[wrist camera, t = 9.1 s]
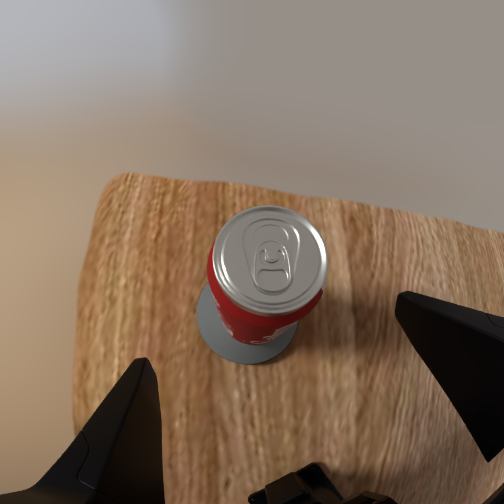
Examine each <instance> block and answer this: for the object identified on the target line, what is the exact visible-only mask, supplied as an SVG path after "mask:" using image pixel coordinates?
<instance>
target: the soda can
mask: <svg viewBox="0 0 504 504" xmlns="http://www.w3.org/2000/svg"><path fill="white" fill-rule="evenodd" d="M327 271H328V253H327V248H326V245H325V242H324V240H323V238H322V236H321V234H320V233H319V231H318V230H317V229H316V227H315V226H314V225H313V224H312V223H311V222H310V221H309V220H308V219H306V218H305V217H304V216H302V215H301V214H299V213H297V212H295V211H293V210H291V209H288V208H285V207H281V206H274V205H263V206H256V207H252V208H248V209H246V210H243V211H241V212H239V213H238V214H236V215H235V216H233V217H232V218H231V219H230V220H229V221H228V222H227V223H226V224H225V225H224V226H223V227H222V229H221V230H220V232H219V234H218V236H217V238H216V240H215V242H214V244H213V245H212V248H211V250H210V253H209V257H208V263H207V275H208V281H209V285H210V288H211V291H212V294H213V298H214V301H215V304H216V307H217V310H218V313H219V316H220V319H221V322H222V325H223V327H224V328H225V330H226V331H227V333H228V334H229V335H230V336H231V337H232V338H234V339H235V340H237V341H239V342H241V343H244V344H247V345H261V344H265V343H268V342H270V341H272V340H273V339H275V338H276V337H278V336H279V335H280V334H282V333H283V332H284V331H286V330H287V329H288V328H290V327H291V326H292V325H294V324H295V323H296V322H298V321H299V320H300V319H302V318H303V317H304V316H306V315H307V314H308V313H309V312H310V311H311V310H312V309H313V308H314V307H315V306H316V304H317V303H318V301H319V300H320V298H321V296H322V294H323V291H324V288H325V284H326V279H327Z"/></svg>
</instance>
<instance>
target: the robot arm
mask: <svg viewBox="0 0 504 504" xmlns="http://www.w3.org/2000/svg"><path fill="white" fill-rule="evenodd" d="M395 316H396V318H397V320H398V322H399V323H400V325H401V327H402V328H403V330H404V332H405V333H406V335H407V337H408V339H409V340H410V342H411V344H412V345H413V347H414V348H415V350H416V351H417V353H418V354H419V355H420V357H421V358H422V360H423V361H424V362H425V364H426V365H427V367H428V368H429V370H430V371H431V372H432V374H433V375H434V377H435V378H436V380H437V381H438V383H439V384H440V386H441V387H442V389H443V390H444V392H445V393H446V395H447V396H448V398H449V399H450V401H451V402H452V404H453V406H454V407H455V409H456V410H457V412H458V413H459V415H460V417H461V418H462V420H463V421H464V423H465V424H466V427H467V428H468V430H469V432H470V433H471V435H472V437H473V438H474V440H475V442H476V444H477V445H478V447H479V449H480V451H481V452H482V454H483V456H484V458H485V460H486V461H487V462H490V461H491V460H492V459H493V458H494V457H495V456H496V455H497V454H498V453H499V452H500V451H501V450H502V449H503V448H504V317H500V316H496V315H492V314H489V313H484V312H482V311H478V310H475V309H471V308H468V307H464V306H461V305H457V304H453V303H450V302H446V301H443V300H439V299H436V298H432V297H429V296H425V295H422V294H418V293H414V292H411V291H405V292H402V293H399V294H398V296H397V301H396V308H395ZM82 430H83V431H80V432H79V434H78V435H77V437H76V438H75V439H74V441H73V442H72V443H71V445H70V446H69V447H68V448H67V450H66V451H65V452H64V453H63V454H62V456H61V457H60V458H59V459H58V460H57V461H56V463H55V464H54V465H53V466H52V467H51V468H50V469H49V470H48V471H47V473H46V474H45V475H44V476H43V477H42V478H41V479H40V480H39V481H38V482H37V483H36V484H35V485H34V486H32V487H30V488H28V489H26V490H22V491H17V492H12V493H7V494H2V495H0V504H165V498H164V484H163V464H162V422H161V411H160V402H159V393H158V382H157V377H156V374H155V372H154V370H153V368H152V366H151V364H150V362H149V360H148V359H147V358H146V357H143V358H137V359H135V360H134V361H133V362H132V363H131V364H130V366H129V367H128V368H127V370H126V371H125V372H124V374H123V375H122V376H121V378H120V379H119V380H118V381H117V383H116V384H115V385H114V387H113V388H112V389H111V391H110V392H109V393H108V395H107V396H106V397H105V399H104V400H103V401H102V403H101V404H100V405H99V407H98V408H97V409H96V411H95V412H94V413H93V415H92V416H91V418H90V419H89V420H88V422H87V423H86V424H85V426H84V427H83V428H82ZM312 467H316V468H315V469H314V470H311V468H312ZM252 498H256V499H257V500H255V501H253V500H251V499H252ZM248 502H249V503H250V504H397V503H396V502H395V501H394V500H393V499H391V498H390V497H388V496H385V495H381V494H377V493H373V492H370V491H364V492H362V493H361V494H360V493H356V494H354V495H352V496H350V497H348V498H346V499H343V498H342V496H341V495H340V494H339V492H338V491H337V490H336V489H335V487H334V486H333V484H332V483H331V482H330V480H329V479H328V478H327V476H326V475H325V474H324V472H323V471H322V469H321V468H320V467H319V465H318V464H316V463H311V464H309V465H307V466H305V467H304V468H302V469H300V470H298V471H297V472H291V473H289V474H287V475H285V476H284V477H282V478H280V479H278V480H276V481H274V482H272V483H270V484H268V485H266V486H265V488H264V489H262V490H260V491H258V492H255V493H253V494H251V495H249V497H248ZM482 504H504V483H503V484H502V485H501V486H500V487H499V488H498V489H497V490H496V491H495V492H494V493H493V494H492V495H491V496H490V497H489V498H488V499H487V500H486V501H484V502H483V503H482Z"/></svg>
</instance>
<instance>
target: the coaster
mask: <svg viewBox="0 0 504 504" xmlns="http://www.w3.org/2000/svg"><path fill="white" fill-rule="evenodd" d="M197 322H198V327H199V330H200V333H201V335H202V337H203V339H204V340H205V342H206V343H207V344H208V346H209V347H210V348H211V349H212V350H213V351H214V352H215V353H217V354H218V355H220V356H221V357H223V358H225V359H227V360H229V361H232V362H235V363H241V364H255V363H260V362H264V361H266V360H269V359H271V358H273V357H275V356H276V355H278V354H279V353H280V352H282V351H283V350H284V349H285V348H286V346H287V345H288V344H289V343H290V341H291V340H292V338H293V336H294V334H295V331H296V328H297V324H298V322H296V323H295V324H294V325H292V326H291V327H290V328H288V329H287V330H286V331H284V332H283V333H282V334H280V335H279V336H278V337H276V338H275V339H273V340H272V341H270V342H268V343H265V344H261V345H247V344H244V343H241V342H239V341H237V340H235V339H234V338H232V337H231V336H230V335H229V334H228V333H227V331H226V330H225V328H224V327H223V325H222V322H221V319H220V316H219V313H218V310H217V307H216V304H215V301H214V298H213V294H212V291H211V288H210V285H209V283H208V284H207V285H206V287H205V288H204V290H203V291H202V293H201V296H200V298H199V302H198V306H197Z"/></svg>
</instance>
